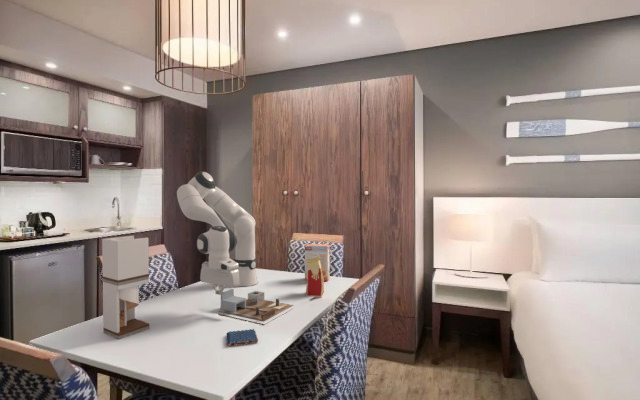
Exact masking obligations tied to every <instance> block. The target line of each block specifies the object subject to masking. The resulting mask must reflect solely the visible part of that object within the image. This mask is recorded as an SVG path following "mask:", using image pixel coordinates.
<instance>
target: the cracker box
mask: <svg viewBox="0 0 640 400" xmlns="http://www.w3.org/2000/svg"><path fill="white" fill-rule="evenodd" d="M317 256H320V258H319V259H320V264H321V268H322V273H323V280H324V282H328V281H330V278H331V277H330V268H331V267H330V244H319V243H314V244H313V243H307V244H305V245H304V281H307V278H308V263H307V260H306V259H308V258H314V257H317Z"/></svg>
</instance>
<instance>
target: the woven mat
mask: <svg viewBox="0 0 640 400" xmlns="http://www.w3.org/2000/svg"><path fill="white" fill-rule="evenodd" d="M258 341H259V340H258V337H257V333H256V330H255V329H254V328H253V329H250V328H249V329H245V330H244V329H241V330H233V331H232V330H231V331H228V332H226V347H235V346H236V347H237V346H241V345H242V346H245V345H246V346H247V345H251V344H252V345H254V344H256V345H257V344H258Z"/></svg>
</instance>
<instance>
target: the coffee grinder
mask: <svg viewBox="0 0 640 400" xmlns="http://www.w3.org/2000/svg"><path fill="white" fill-rule="evenodd" d="M101 241H102V242H101V246H102V247H101V249H102V251H101V252H102V254H101V258H102V260H101V262H102V316H103V317H102V320H103V321H102V322H103V323H102V326H103V327H102V328H103V331H102V333H103V334H105V335H107V336H110V337H111V338H114V339H117V340H122V339H125V338H127V337H129V336H133V335H135V334H138V333H143V332H144V331H147V330H149V329H150V323H149V322H146V321H143V320H140V319H137V318H136V316H135V315H136V312H135V311H136V309H135V308H136V307H138V306H139V305H140V302H139V301H140V299H139V298H140V297H139V296H140V295H139V286H141V285H145V284H149V282H150V273H149V272H150V267H149V265H150V261H149V259H150V258H149V257H150V255H149V253H150V252H149V250H150V249H149V237H140V238H135V236H134V235H126V236H117V237H116V236H115V237H107V238H102V239H101Z"/></svg>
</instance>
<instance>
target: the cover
mask: <svg viewBox="0 0 640 400" xmlns="http://www.w3.org/2000/svg"><path fill="white" fill-rule="evenodd" d="M234 290H235V289H234V288H231V289H228V290H225V291H223V292H222V293H221V295H220V310H221V309H222V310H227V311H231V312H236V307H241V308H246V299H247V298H246V297H241V296H236V295H235V291H234Z"/></svg>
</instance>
